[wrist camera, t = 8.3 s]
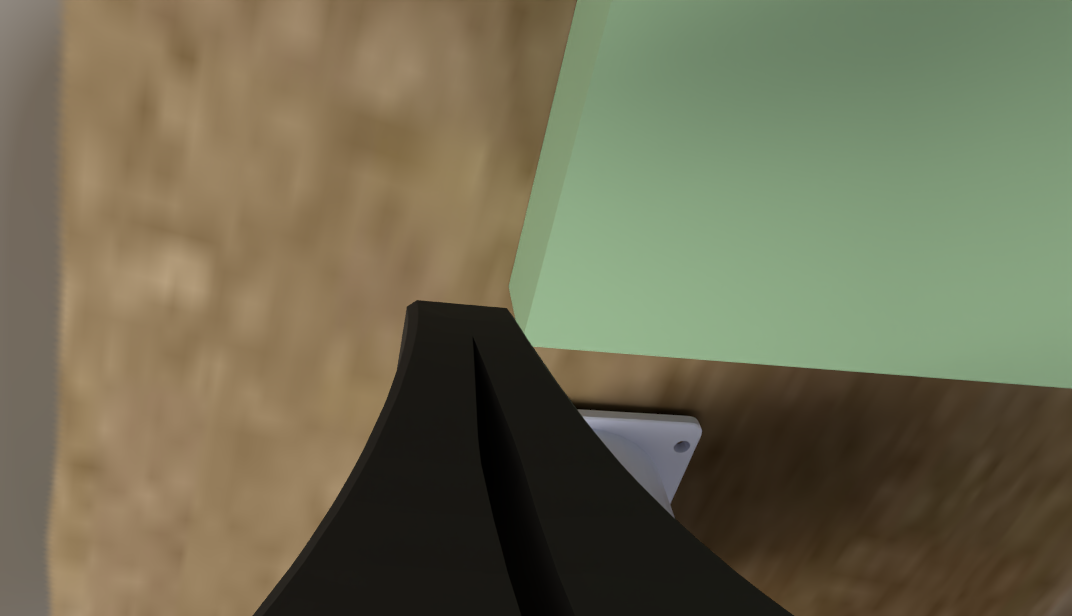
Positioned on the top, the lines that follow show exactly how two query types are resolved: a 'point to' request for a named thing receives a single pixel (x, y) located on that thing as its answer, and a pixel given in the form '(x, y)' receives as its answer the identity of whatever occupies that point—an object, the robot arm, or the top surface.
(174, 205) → the top surface
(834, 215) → the putting mat
